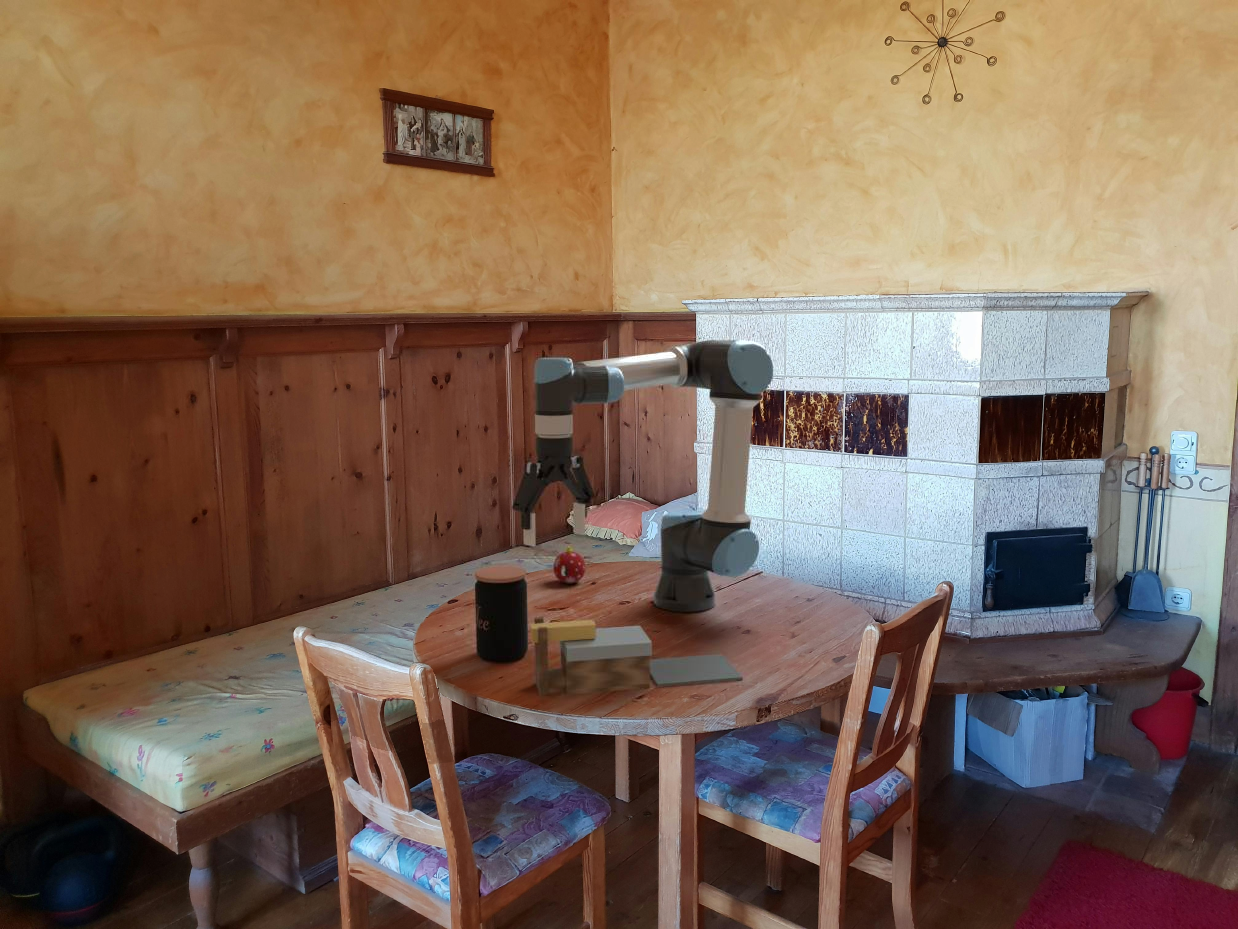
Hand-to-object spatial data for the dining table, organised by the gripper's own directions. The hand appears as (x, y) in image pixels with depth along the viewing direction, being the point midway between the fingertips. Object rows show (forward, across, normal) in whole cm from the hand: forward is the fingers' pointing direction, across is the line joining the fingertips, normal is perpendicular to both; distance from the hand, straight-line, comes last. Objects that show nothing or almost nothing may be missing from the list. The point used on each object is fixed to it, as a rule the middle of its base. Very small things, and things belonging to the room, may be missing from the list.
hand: (555, 539), depth 189 cm
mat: (+25, -14, +25) cm, 38 cm away
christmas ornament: (+25, -40, -39) cm, 62 cm away
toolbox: (+25, +5, +16) cm, 30 cm away
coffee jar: (+25, +7, -10) cm, 28 cm away
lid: (+18, +3, +17) cm, 25 cm away
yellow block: (+15, +10, +13) cm, 22 cm away
